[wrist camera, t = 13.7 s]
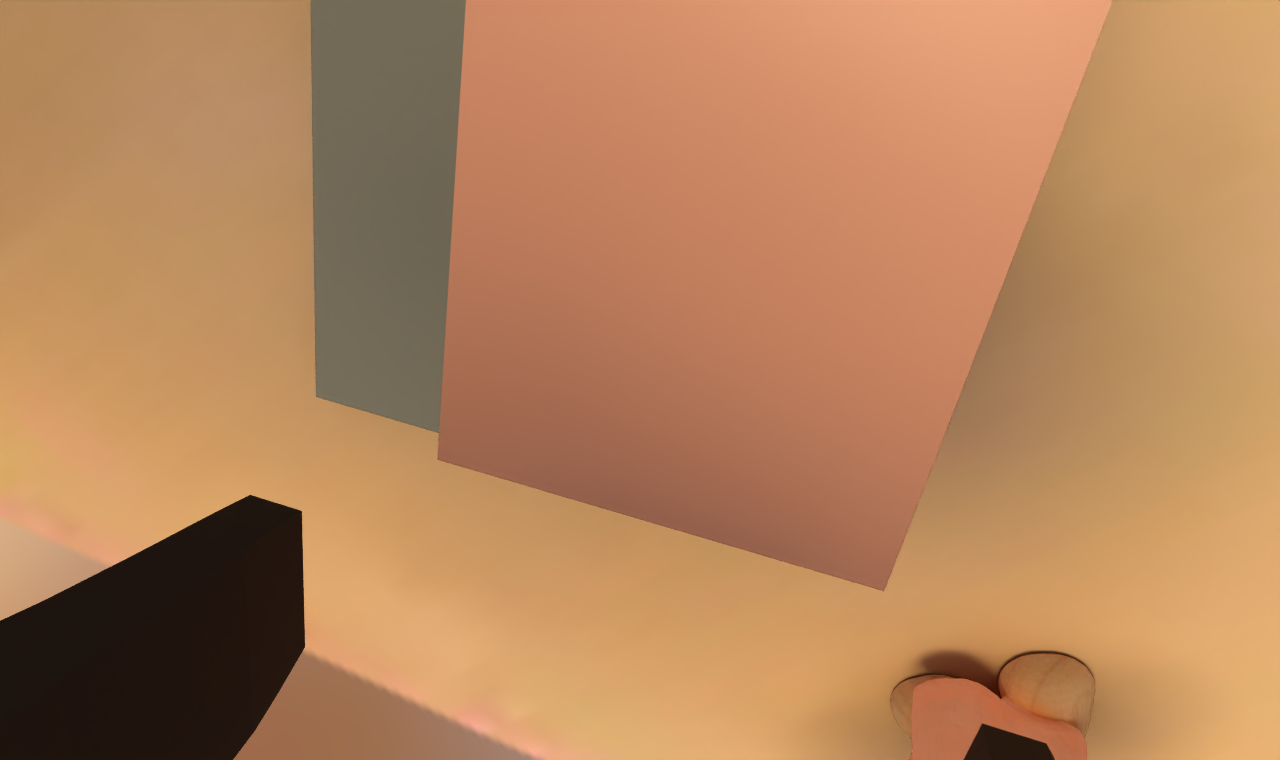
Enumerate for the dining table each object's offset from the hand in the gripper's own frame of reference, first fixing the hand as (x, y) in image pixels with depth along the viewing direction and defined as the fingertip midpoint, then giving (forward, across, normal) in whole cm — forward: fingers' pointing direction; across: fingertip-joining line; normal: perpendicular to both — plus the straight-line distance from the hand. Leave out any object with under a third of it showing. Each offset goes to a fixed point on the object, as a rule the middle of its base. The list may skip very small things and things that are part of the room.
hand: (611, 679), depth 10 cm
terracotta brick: (+5, 0, -5) cm, 7 cm away
